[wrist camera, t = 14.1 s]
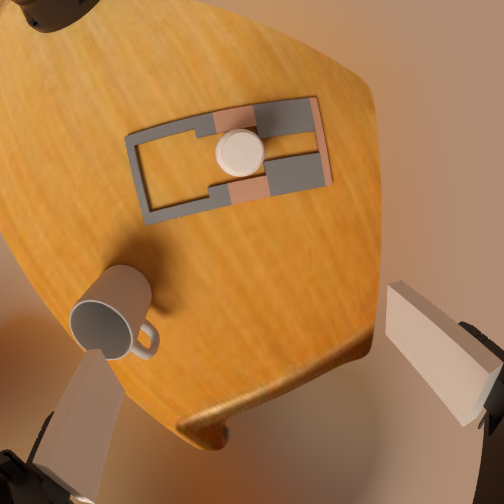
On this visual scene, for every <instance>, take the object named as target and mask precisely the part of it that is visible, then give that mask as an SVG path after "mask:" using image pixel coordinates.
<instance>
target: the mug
mask: <svg viewBox="0 0 504 504" xmlns="http://www.w3.org/2000/svg"><path fill="white" fill-rule="evenodd" d="M151 301H152V291H151V287H150V284H149V282H148V280H147V279H146V277H145V276H144V275H143V274H142V273H141V272H140V271H138V270H137V269H135V268H133V267H131V266H128V265H114V266H111V267H109V268H108V269H106V270H105V271H104V272H103V273H102V274H101V275H100V276H99V278H98V279H97V280H96V281H95V282H94V283H93V284H92V286H91V287H90V288H89V289H88V290H87V291H86V292H85V293H84V294H83V296H82V297H81V298H80V299H79V300H78V301H77V303H76V304H75V305H74V306H73V308H72V310H71V312H70V316H69V325H70V329H71V332H72V334H73V336H74V338H75V340H76V341H77V342H78V344H79V345H80V346H81V347H82V348H83V349H84V350H86V351H87V350H92V349H101V351H102V353H103V355H104V356H105V358H106V360H117V359H120V358H123V357H125V356H126V355H127V354H128V353H129V352H130V351H131V352H132V353H134V354H135V355H137V356H138V357H140V358H142V359H150V358H151V357H153V356H154V355H155V354H156V352H157V350H158V347H159V343H160V337H159V333H158V331H157V329H156V328H155V327H154V326H153V325H152V324H151V323H150V322H149V321H148V320H147V319H146V318H145V317H146V314H147V312H148V309H149V307H150V304H151ZM140 329H142V330H143V331H144V332H146V333H147V334H148V336H149V337H150V340H151V346H150V348H149V349H148V348H146V347H144V346H143V345H142V344H141V343H140V342H139V341H138V340H137V337H138V334H139V331H140Z"/></svg>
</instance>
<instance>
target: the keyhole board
mask: <svg viewBox="0 0 504 504" xmlns="http://www.w3.org/2000/svg"><path fill="white" fill-rule="evenodd" d="M255 126H256V130H257V135H258V137H259V138H260V139H263V138H269V137H275V136H282V135H288V134H295V133H303V132H311V131H314V133H315V139H316V144H317V149H318V153H314V154H307V155H301V156H294V157H288V158H282V159H276V160H271V161H265V162H263V164H264V169H265V174H266V175H264V176H259V177H254V178H249V179H244V180H239V181H235V182H230V183H226V184H221V185H217V186H212V187H208V192H209V196H210V197H208V198H204V199H199V200H195V201H191V202H187V203H183V204H179V205H175V206H171V207H167V208H164V209H160V210H156V211H152V212H151V210H150V206H149V203H148V199H147V195H146V191H145V186H144V182H143V178H142V174H141V169H140V165H139V160H138V156H137V151H136V145H139V144H143V143H146V142H149V141H153V140H156V139H159V138H163V137H166V136H170V135H174V134H178V133H181V132H185V131H189V130H193V129H195V132H196V137H197V138H201V137H205V136H209V135H214V134H218V133H223V132H228V131H231V130H234V129H243V128H249V127H255ZM125 142H126V147H127V152H128V157H129V162H130V166H131V171H132V175H133V179H134V184H135V188H136V192H137V196H138V200H139V204H140V208H141V211H142V215H143V219H144V222H145V226H147V225H151V224H155V223H159V222H162V221H166V220H170V219H174V218H178V217H182V216H186V215H190V214H195V213H199V212H203V211H207V210H211V209H216V208H220V207H225V206H229V205H234V204H238V203H243V202H247V201H252V200H257V199H262V198H266V197H271V196H276V195H281V194H286V193H292V192H297V191H302V190H307V189H313V188H318V187H324V186H330V185H332V178H331V172H330V166H329V160H328V154H327V148H326V143H325V137H324V132H323V127H322V122H321V117H320V112H319V107H318V103H317V98H304V99H294V100H285V101H277V102H269V103H262V104H256V105H250V106H244V107H238V108H233V109H227V110H222V111H217V112H213V113H208V114H204V115H199V116H195V117H191V118H187V119H183V120H179V121H175V122H171V123H168V124H164V125H161V126H157V127H154V128H150V129H147V130H144V131H141V132H138V133H135V134H131V135H128V136H126V137H125Z"/></svg>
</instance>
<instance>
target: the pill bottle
mask: <svg viewBox="0 0 504 504" xmlns="http://www.w3.org/2000/svg"><path fill="white" fill-rule="evenodd" d="M215 156H216V160H217V163H218V165H219V166H220V167H221V169H222V170H223V171H224V172H226V173H228V174H229V175H232V176H236V177H243V176H248V175H250V174H252V173H254V172H255V171H257V170H258V169H259V168H260V166H261V165H262V163H263V160H264V157H265V149H264V145H263V143H262V141H261V140H260V138H259V137H258V136H257V135H256V134H255V133H253V132H252V131H249V130H246V129H234V130H231V131H229V132H227V133H225V134H224V135H223V136H222V137H221V138H220V139H219V141H218V143H217V145H216V149H215Z"/></svg>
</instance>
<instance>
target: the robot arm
mask: <svg viewBox="0 0 504 504" xmlns="http://www.w3.org/2000/svg"><path fill="white" fill-rule="evenodd" d="M12 1H13V2H15V3H16V4H18V5H19V6H20V8H21V10H22V12H23V14H24V16H25V18H26V20H27V23H28V24H29V25H30V26H31V27H32V28H34V29H35V30H37V31H39V32H42V33H49V32H54V31H57V30H60V29H62V28H65V27H67V26H68V25H70V24H72V23H74V22H75V21H77V20H78V19H79V18H81V17H82V16H83V15H85V14H86V13H87V12H88V11H89V10H90V9H91V8H92V7H93V6H94V5H95V4H96V3H97V2H98V1H99V0H12ZM387 292H388V293H387V317H386V335H387V336H388V337H389V338H390V340H391V341H392V342H393V343H394V344H395V345H396V346H397V347H398V349H399V350H400V351H401V352H402V353H403V354H404V356H405V357H406V358H407V359H408V360H409V361H410V363H411V364H412V365H413V366H414V367H415V368H416V370H417V371H418V372H419V373H420V374H421V376H422V377H423V378H424V379H425V380H426V381H427V383H428V384H429V385H430V386H431V387H432V389H433V390H434V391H435V392H436V394H437V395H438V396H439V397H440V398H441V400H442V401H443V402H444V403H445V405H446V406H447V407H448V408H449V409H450V411H451V412H452V413H453V415H454V416H455V417H456V418H457V420H458V421H459V422H460V423H461V425H462V426H465V425H466V424H468V423H469V422H471V421H472V420H473V419H475V418H476V417H477V416H478V415H479V413H480V411H481V409H482V408H483V407H484V408H485V409H486V410H487V411H486V413H485V415H484V417H483V418H482V420H481V422H480V423H479V426H478V429H480V428H481V427H482V425H483V423H485V424H484V437H483V448H482V456H481V463H480V470H479V476H478V481H477V486H476V491H475V495H474V499H473V504H504V351H503V350H502V349H501V348H500V347H499V346H498V345H496V344H495V343H494V342H493V341H491V340H490V339H488V337H487V336H485V335H484V334H481V332H480V331H479V330H478V329H477V328H475V327H474V326H473V325H470V324H468V323H465V322H460V323H456V322H455V321H454V320H453V319H451V318H450V317H449V316H448V315H446V314H445V313H444V312H442V311H441V310H440V309H439V308H437V307H436V306H435V305H433V304H432V303H431V302H429V301H428V300H427V299H426V298H424V297H423V296H422V295H420V294H419V293H418V292H416V291H415V290H414V289H412V288H411V287H410V286H408V285H407V284H406V283H404V282H403V281H401V280H400V281H397V282H394V283H391V284H388V290H387ZM124 393H125V390H124V389H123V387H122V386H121V384H120V382H119V381H118V379H117V377H116V376H115V374H114V372H113V371H112V369H111V367H110V365H109V364H108V362H107V360H106V358H105V356H104V355H103V353H102V351H101V349H92V350H87V351H86V353H85V355H84V357H83V359H82V360H81V362H80V364H79V366H78V367H77V369H76V371H75V373H74V375H73V377H72V379H71V380H70V382H69V384H68V386H67V388H66V390H65V392H64V394H63V396H62V398H61V400H60V402H59V404H58V406H57V408H56V410H55V411H53V412H52V413H51V414H50V415H49V416H48V417H47V418H46V420H45V422H44V424H43V426H42V428H41V429H42V430H41V431H40V432H39V435H38V438H37V439H36V441H35V444H34V446H33V448H32V450H31V453H30V455H29V458H28V460H27V462H26V464H25V463H24V462H23V461H22V460H21V459H20V458H19V457H18V456H16V454H15V453H14V452H12V451H11V450H3V451H1V452H0V504H74V503H73V502H72V501H71V500H70V499H69V498H70V494H71V495H73V496H74V497H75V498H77V499H78V500H80V501H83V502H88V503H92V504H96V499H97V494H98V489H99V485H100V481H101V476H102V472H103V467H104V464H105V460H106V456H107V452H108V448H109V444H110V440H111V437H112V433H113V429H114V426H115V422H116V419H117V416H118V412H119V409H120V406H121V403H122V399H123V396H124Z"/></svg>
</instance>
